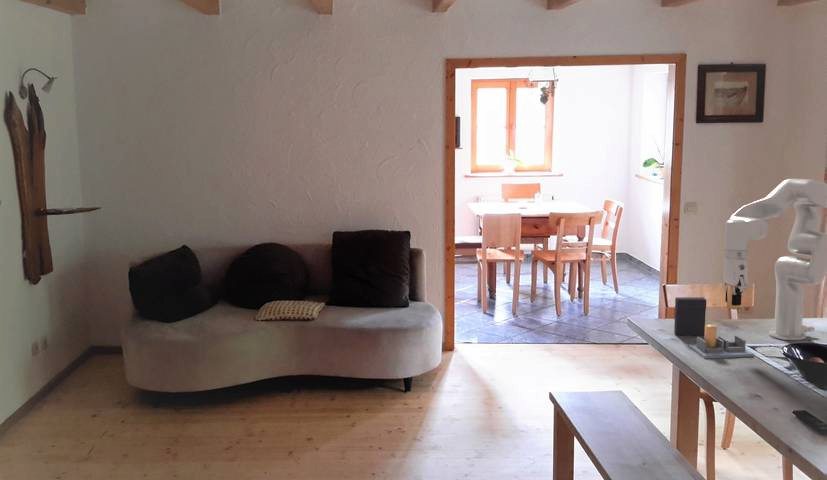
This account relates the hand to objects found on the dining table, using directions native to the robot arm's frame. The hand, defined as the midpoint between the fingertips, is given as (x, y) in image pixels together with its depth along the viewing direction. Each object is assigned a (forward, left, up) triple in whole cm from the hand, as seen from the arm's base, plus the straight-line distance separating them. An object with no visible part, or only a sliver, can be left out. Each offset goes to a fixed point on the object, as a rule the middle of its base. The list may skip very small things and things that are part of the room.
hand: (733, 303), depth 254 cm
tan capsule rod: (0, 0, -2) cm, 2 cm away
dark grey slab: (+6, -22, -18) cm, 29 cm away
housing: (+4, 0, -18) cm, 19 cm away
